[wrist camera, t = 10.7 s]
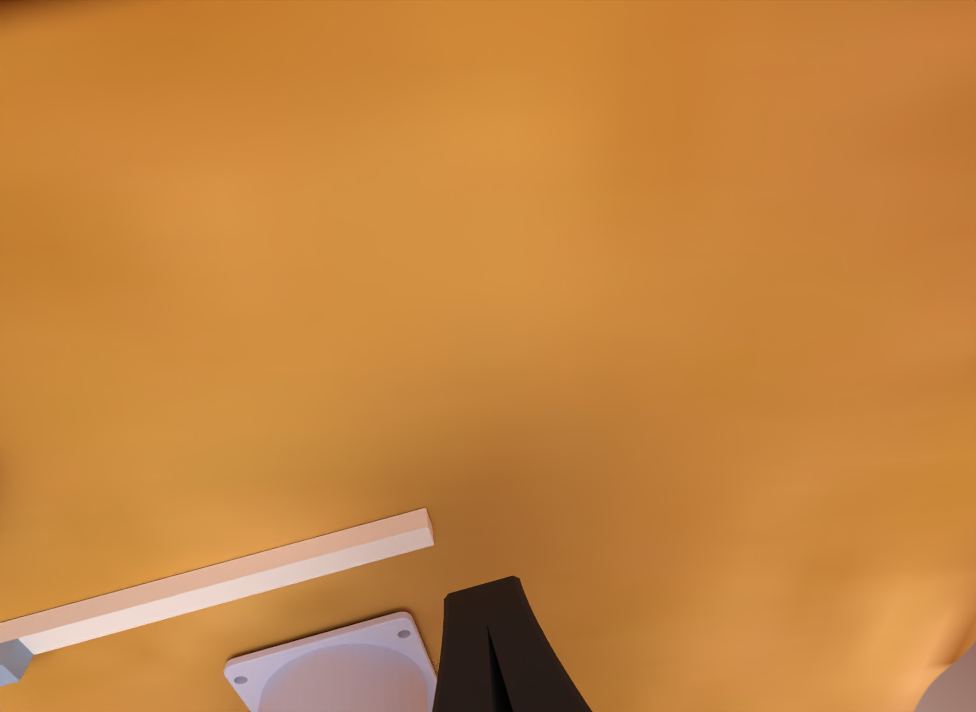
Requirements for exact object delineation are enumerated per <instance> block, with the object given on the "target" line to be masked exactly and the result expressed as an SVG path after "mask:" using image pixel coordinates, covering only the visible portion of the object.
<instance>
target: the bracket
mask: <svg viewBox="0 0 976 712" xmlns="http://www.w3.org/2000/svg"><path fill="white" fill-rule="evenodd" d="M33 656H34V654H33V653H32V652H31V651H30V650H29V649H28V648H27V647H26V646H25V645H24V644H23V643H22V642H21V641H20V640H19V639H18V638H17V639H14V640H10V641H6V642H3V643H0V686H4V685H8V684H11V683H15V682H18V681H20V679H21V678H22V676H23V674H24V672H25V670H26V669H27V667H28V665H29V663H30V661H31V660H32V658H33Z"/></svg>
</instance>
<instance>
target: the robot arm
mask: <svg viewBox="0 0 976 712" xmlns="http://www.w3.org/2000/svg"><path fill="white" fill-rule="evenodd" d="M223 673H224V676H225V677H226V679H227V680H228V681H229V683H230V684H231V686H232V687H233V688H234V690H235V691H236V692H237V694H238V695H239V697H240V698H241V699H242V701H243V702H244V703H245V705H246V706H247V707H248V709H249V710H250V712H592V711H591V709H590V708H589V706H588V705H587V703H586V702H585V700H584V699H583V697H582V696H581V694H580V693H579V691H578V690H577V688H576V686H575V685H574V683H573V682H572V680H571V678H570V677H569V675H568V674H567V672H566V671H565V669H564V667H563V666H562V664H561V663H560V661H559V659H558V658H557V656H556V654H555V653H554V651H553V649H552V647H551V646H550V644H549V642H548V640H547V639H546V637H545V635H544V633H543V631H542V629H541V627H540V626H539V624H538V622H537V620H536V618H535V616H534V614H533V612H532V609H531V607H530V605H529V603H528V600H527V598H526V596H525V593H524V591H523V588H522V585H521V582H520V579H519V578H517V577H515V576H510V577H506V578H503V579H499V580H496V581H492V582H489V583H485V584H481V585H478V586H474V587H471V588H467V589H464V590H460V591H456V592H453V593H449V594H448V595H447V596H446V598H445V599H444V622H443V637H442V647H441V655H440V663H439V671H438V678H437V676H436V674H435V671H434V669H433V666H432V664H431V661H430V659H429V657H428V654H427V652H426V649H425V647H424V644H423V642H422V639H421V637H420V635H419V632H418V630H417V627H416V625H415V622H414V620H413V618H412V616H411V615H410V614H409V613H407V612H397V613H393V614H389V615H386V616H382V617H379V618H375V619H372V620H368V621H364V622H361V623H357V624H354V625H350V626H347V627H343V628H339V629H336V630H332V631H329V632H325V633H322V634H318V635H314V636H311V637H307V638H304V639H300V640H297V641H293V642H289V643H286V644H282V645H279V646H275V647H272V648H268V649H264V650H261V651H257V652H254V653H250V654H247V655H243V656H239V657H236V658H233V659H230V660H228V661H227V662H226V664H225V668H224V672H223Z"/></svg>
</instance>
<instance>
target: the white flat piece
mask: <svg viewBox="0 0 976 712" xmlns="http://www.w3.org/2000/svg"><path fill="white" fill-rule="evenodd" d="M433 545H434V538H433V530H432V524H431V521H430V519H429V516H428V513H427V510H426V508H423V509H419V510H415V511H412V512H408V513H404V514H400V515H397V516H393V517H389V518H386V519H382V520H378V521H375V522H371V523H367V524H364V525H360V526H356V527H352V528H349V529H345V530H341V531H338V532H334V533H330V534H327V535H323V536H319V537H316V538H312V539H308V540H304V541H301V542H297V543H293V544H290V545H286V546H282V547H279V548H275V549H271V550H268V551H264V552H260V553H257V554H253V555H249V556H245V557H242V558H238V559H234V560H231V561H227V562H223V563H220V564H216V565H212V566H209V567H205V568H201V569H197V570H194V571H190V572H186V573H183V574H179V575H175V576H172V577H168V578H164V579H161V580H157V581H153V582H149V583H146V584H142V585H138V586H135V587H131V588H127V589H124V590H120V591H116V592H113V593H109V594H105V595H101V596H98V597H94V598H90V599H87V600H83V601H79V602H76V603H72V604H68V605H65V606H61V607H57V608H54V609H50V610H46V611H42V612H39V613H35V614H31V615H28V616H24V617H20V618H17V619H13V620H9V621H6V622H2V623H0V643H3V642H6V641H10V640H14V639H17V638H18V639H19V640H20V641H21V642H22V643H23V644H24V645H25V646H26V647H27V648H28V649H29V650H30V651H31V652H32V653H33V654H34V655H36V654H39V653H43V652H47V651H50V650H54V649H58V648H61V647H65V646H68V645H72V644H76V643H79V642H83V641H87V640H90V639H94V638H98V637H101V636H105V635H109V634H112V633H116V632H119V631H123V630H127V629H130V628H134V627H138V626H141V625H145V624H149V623H152V622H156V621H160V620H163V619H167V618H170V617H174V616H178V615H181V614H185V613H189V612H192V611H196V610H200V609H203V608H207V607H210V606H214V605H218V604H221V603H225V602H229V601H232V600H236V599H240V598H243V597H247V596H251V595H254V594H258V593H261V592H265V591H269V590H272V589H276V588H280V587H283V586H287V585H291V584H294V583H298V582H301V581H305V580H309V579H312V578H316V577H320V576H323V575H327V574H331V573H334V572H338V571H342V570H345V569H349V568H352V567H356V566H360V565H363V564H367V563H371V562H374V561H378V560H382V559H385V558H389V557H392V556H396V555H400V554H403V553H407V552H411V551H414V550H418V549H422V548H425V547H429V546H433Z"/></svg>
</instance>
